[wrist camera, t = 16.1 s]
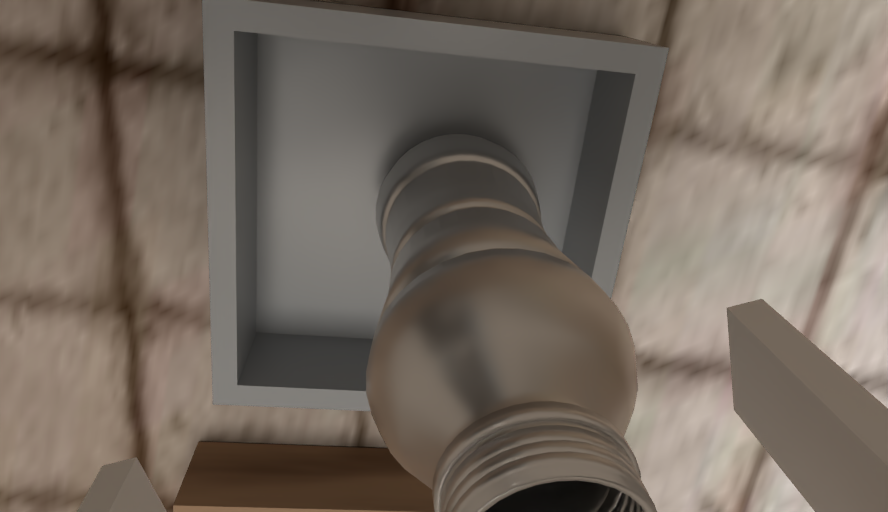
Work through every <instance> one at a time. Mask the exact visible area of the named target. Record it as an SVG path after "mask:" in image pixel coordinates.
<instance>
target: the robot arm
mask: <svg viewBox="0 0 888 512" xmlns="http://www.w3.org/2000/svg"><path fill="white" fill-rule="evenodd" d="M727 317H728V332H729V346H730V360H731V374H732V389H733V403H734V410H735V412H736V413H737V414H738V415H739V417H740V418H741V419H742V420H743V422H744V423H745V424H746V425H747V427H748V428H749V429H750V430H751V432H752V433H753V434H754V435H755V437H756V438H757V439H758V440H759V442H760V443H761V444H762V445H763V447H764V448H765V449H766V450H767V452H768V453H769V454H770V455H771V457H772V458H773V459H774V461H775V462H776V463H777V464H778V466H779V467H780V468H781V469H782V471H783V472H784V473H785V474H786V476H787V477H788V478H789V479H790V481H791V482H792V483H793V484H794V486H795V487H796V488H797V489H798V491H799V492H800V493H801V494H802V496H803V497H804V498H805V499H806V501H807V502H808V503H809V504H810V506H811V507H812V508H813V509H814V511H815V512H888V408H886V407H885V406H884V405H883V404H882V403H881V402H880V401H878V400H877V399H876V398H875V397H874V396H873V395H872V394H870V393H869V392H868V391H867V390H866V389H865V388H863V387H862V386H861V385H860V384H859V383H858V382H857V381H855V380H854V379H853V378H852V377H851V376H850V375H849V374H847V373H846V372H845V371H844V370H843V369H842V368H841V367H839V366H838V365H837V364H836V363H835V362H834V361H833V360H831V359H830V358H829V357H828V356H827V355H826V354H824V353H823V352H822V351H821V350H820V349H819V348H818V347H816V346H815V345H814V344H813V343H812V342H811V341H810V340H808V339H807V338H806V337H805V336H804V335H803V334H802V333H800V332H799V331H798V330H797V329H796V328H795V327H793V326H792V325H791V324H790V323H789V322H788V321H787V320H785V319H784V318H783V317H782V316H781V315H780V314H779V313H777V312H776V311H775V310H774V309H773V308H772V307H771V306H769V305H768V304H767V303H766V302H765V301H764V300H763V299H760V300H756V301H752V302H748V303H744V304H740V305H736V306H732V307H728V308H727ZM77 512H167V511H166V509H165V508H164V506H163V504H162V502H161V500H160V499H159V497H158V495H157V493H156V491H155V490H154V488H153V486H152V484H151V482H150V481H149V479H148V477H147V475H146V474H145V472H144V470H143V468H142V466H141V465H140V463H139V461H138V459H137V457H135V458H131V459H128V460H124V461H120V462H116V463H112V464H108V465H104V466H102V468H101V469H100V471H99V473H98V475H97V477H96V478H95V480H94V482H93V484H92V486H91V487H90V489H89V491H88V493H87V494H86V496H85V498H84V500H83V502H82V503H81V505H80V507H79V509H78V510H77Z"/></svg>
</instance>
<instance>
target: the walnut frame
mask: <svg viewBox="0 0 888 512" xmlns="http://www.w3.org/2000/svg"><path fill="white" fill-rule="evenodd" d="M173 512H435V511H434V504H433V495H432V489H431V488H429V487H428V486H427V485H425V484H424V483H423V482H421V481H420V480H418V479H417V478H416V477H414V476H413V475H412V474H410V473H409V472H408V471H406V470H405V469H404V468H403V467H402V466H401V465H400V463H399V462H398V461H397V460H396V459H395V458H394V457H393V455H392V454H391V453H390V451H389V449H388V448H362V447H335V446H308V445H280V444H253V443H226V442H198V445H197V447H196V450H195V452H194V455H193V457H192V460H191V462H190V465H189V467H188V470H187V472H186V475H185V477H184V480H183V482H182V485H181V487H180V490H179V492H178V495H177V497H176V500H175V502H174V505H173Z"/></svg>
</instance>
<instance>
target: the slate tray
mask: <svg viewBox="0 0 888 512" xmlns="http://www.w3.org/2000/svg"><path fill="white" fill-rule="evenodd" d="M202 17H203V55H204V92H205V129H206V167H207V204H208V242H209V279H210V316H211V354H212V391H213V404H218V405H241V406H264V407H287V408H310V409H333V410H357V411H371V410H370V406H369V402H368V399H367V395H366V369H367V365H368V360H369V354H370V349H371V345H372V341H373V337H374V332H375V330H376V328H377V324H378V321H379V319H380V316H381V313H382V310H383V307H384V304H385V301H386V298H387V296H388V291H389V283H390V278H391V267H390V262H389V259H388V257H387V255H386V253H385V251H384V249H383V247H382V244H381V240H380V237H379V233H378V229H377V224H376V203H377V198H378V194H379V190H380V188H381V186H382V184H383V182H384V179H385V177H386V176H387V175H388V173H389V172H390V170H391V169H392V168H393V166H394V165H395V164H396V162H397V161H398V160H399V159H400V158H401V157H402V156H403V155H404V154H405V153H406V152H407V151H408V150H410V149H411V148H413V147H415V146H416V145H418V144H419V143H421V142H423V141H426V140H428V139H431V138H434V137H437V136H442V135H448V134H467V135H472V136H477V137H481V138H483V139H486V140H488V141H490V142H493V143H495V144H497V145H500V146H502V147H503V148H505V149H506V150H508V151H509V152H511V153H512V154H513V155H515V156H516V158H517V159H518V160H519V161H520V162H521V163H522V164H523V165H524V166H525V167H526V169H527V171H528V172H529V174H530V176H531V177H532V179H533V182H534V185H535V188H536V191H537V194H538V199H539V203H540V211H541V223H542V225H543V228H544V231H545V232H546V234H547V235H548V237H549V238H550V239H551V240H552V241H553V243H554V244H555V245H556V247H557V248H558V249H559V250H560V251H561V252H562V253H563V254H564V255H565V256H566V257H568V258H569V259H570V260H571V261H572V262H573V263H575V264H576V265H577V266H578V267H579V268H580V269H581V270H583V271H584V272H585V273H586V274H587V275H589V276H590V277H591V278H592V279H593V280H594V281H595V282H596V283H597V284H598V285H599V286H600V288H601V289H602V290H603V291H604V292H605V293H606V294H607V295H608V297H609V298H610V299H611V297H612V292H613V288H614V284H615V279H616V275H617V271H618V266H619V262H620V258H621V253H622V249H623V245H624V240H625V236H626V232H627V227H628V223H629V219H630V214H631V210H632V206H633V202H634V197H635V193H636V189H637V184H638V180H639V176H640V171H641V167H642V163H643V158H644V154H645V150H646V145H647V141H648V137H649V132H650V128H651V124H652V120H653V115H654V111H655V107H656V102H657V98H658V94H659V89H660V85H661V81H662V76H663V72H664V68H665V63H666V59H667V55H668V50H669V48H667V47H663V46H659V45H655V44H651V43H648V42H644V41H640V40H636V39H632V38H628V37H624V36H618V35H609V34H600V33H592V32H583V31H574V30H565V29H557V28H548V27H539V26H530V25H522V24H513V23H504V22H496V21H487V20H478V19H469V18H461V17H452V16H443V15H435V14H426V13H417V12H408V11H400V10H391V9H382V8H373V7H365V6H356V5H347V4H339V3H330V2H321V1H312V0H202Z"/></svg>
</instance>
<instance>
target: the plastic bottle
mask: <svg viewBox="0 0 888 512" xmlns="http://www.w3.org/2000/svg"><path fill="white" fill-rule="evenodd" d="M376 224H377V229H378V233H379V237H380V240H381V244H382V247H383V249H384V251H385V253H386V255H387V257H388V259H389V262H390V267H391V278H390V283H389V291H388V296H387V298H386V301H385V304H384V307H383V310H382V313H381V316H380V319H379V321H378V324H377V328H376V330H375V332H374V337H373V341H372V345H371V349H370V354H369V360H368V365H367V369H366V395H367V399H368V402H369V406H370V410H371V414H372V417H373V419H374V421H375V423H376V425H377V427H378V430H379V432H380V434H381V436H382V438H383V440H384V442H385V444H386V445H387V447H388V449H389V451H390V453H391V454H392V455H393V457H394V458H395V459H396V460H397V461H398V462H399V463H400V465H401V466H402V467H403V468H404V469H405V470H406V471H408V472H409V473H410V474H412V475H413V476H414V477H416V478H417V479H418V480H420V481H421V482H423V483H424V484H425V485H427V486H428V487H429V488H431V489H432V495H433V504H434V511H435V512H657V511H656V508H655V505H654V503H653V501H652V500H651V498H650V496H649V494H648V492H647V490H646V488H645V486H644V485H643V483H642V481H641V476H640V470H639V467H638V464H637V461H636V458H635V456H634V454H633V452H632V450H631V448H630V446H629V445H628V443H627V441H626V440H625V438H624V435H625V433H626V430H627V427H628V425H629V422H630V419H631V417H632V414H633V411H634V407H635V402H636V397H637V391H638V383H637V366H636V356H635V345H634V342H633V339H632V336H631V333H630V329H629V326H628V324H627V322H626V321H625V319H624V317H623V316H622V314H621V312H620V311H619V309H618V307H617V306H616V305H615V303H614V302H613V301H612V300H611V299H610V298H609V297H608V295H607V294H606V293H605V292H604V291H603V290H602V289H601V288H600V286H599V285H598V284H597V283H596V282H595V281H594V280H593V279H592V278H591V277H590V276H589V275H587V274H586V273H585V272H584V271H583V270H581V269H580V268H579V267H578V266H577V265H576V264H575V263H573V262H572V261H571V260H570V259H569V258H568V257H566V256H565V255H564V254H563V253H562V252H561V251H560V250H559V249H558V248H557V247H556V245H555V244H554V243H553V241H552V240H551V239H550V238H549V237H548V235H547V234H546V232H545V231H544V228H543V225H542V223H541V211H540V203H539V199H538V194H537V191H536V188H535V185H534V182H533V179H532V177H531V176H530V174H529V172H528V171H527V169H526V167H525V166H524V165H523V164H522V163H521V162H520V161H519V160H518V159H517V158H516V156H515V155H513V154H512V153H511V152H509V151H508V150H506V149H505V148H503V147H502V146H500V145H497V144H495V143H493V142H490V141H488V140H486V139H483V138H481V137H477V136H472V135H467V134H448V135H442V136H437V137H434V138H431V139H428V140H426V141H423V142H421V143H419V144H418V145H416V146H415V147H413V148H411V149H410V150H408V151H407V152H406V153H405V154H404V155H403V156H402V157H401V158H400V159H399V160H398V161H397V162H396V164H395V165H394V166H393V168H392V169H391V170H390V172H389V173H388V175H387V176H386V177H385V179H384V182H383V184H382V186H381V188H380V190H379V194H378V198H377V203H376Z"/></svg>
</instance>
